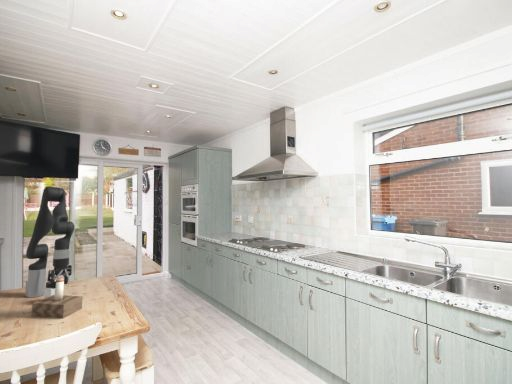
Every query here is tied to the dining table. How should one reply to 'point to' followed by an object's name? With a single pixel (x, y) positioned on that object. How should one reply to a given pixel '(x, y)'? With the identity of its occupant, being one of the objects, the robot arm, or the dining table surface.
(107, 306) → the dining table surface
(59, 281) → the plug
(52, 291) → the jar
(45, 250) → the robot arm
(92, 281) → the dining table surface
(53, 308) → the socket block
